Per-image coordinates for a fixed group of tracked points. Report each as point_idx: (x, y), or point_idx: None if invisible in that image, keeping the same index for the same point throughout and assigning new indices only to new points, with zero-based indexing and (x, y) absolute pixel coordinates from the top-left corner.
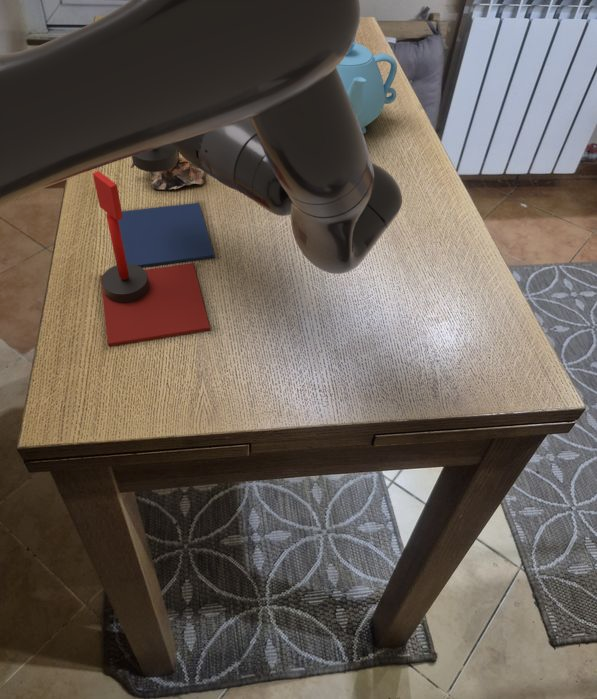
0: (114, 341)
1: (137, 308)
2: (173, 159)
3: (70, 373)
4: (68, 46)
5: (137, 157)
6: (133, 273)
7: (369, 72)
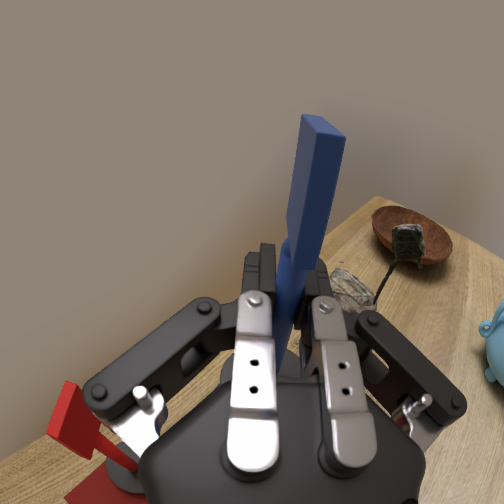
0: (69, 502)
1: (120, 499)
2: None
3: (26, 480)
4: None
5: (220, 380)
6: None
7: None
